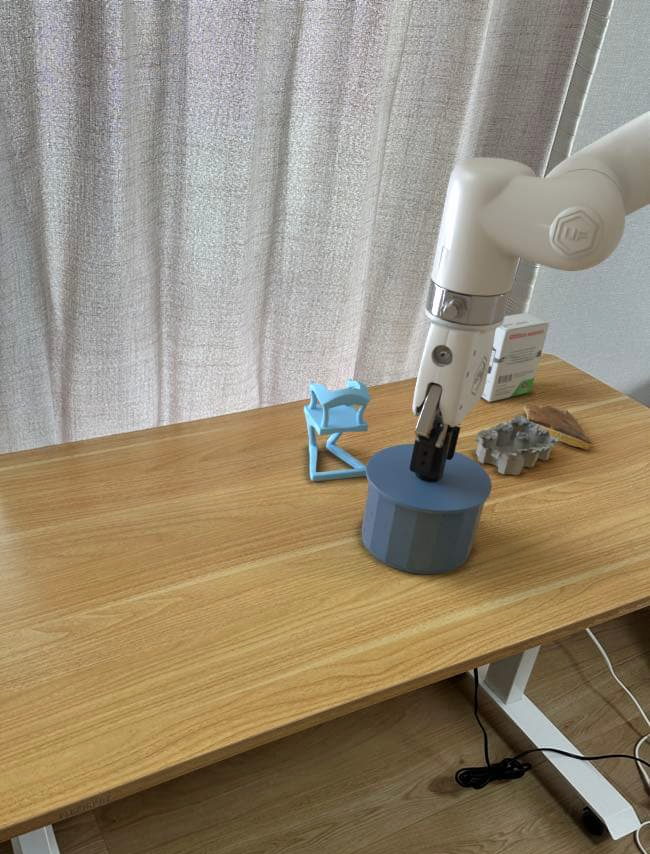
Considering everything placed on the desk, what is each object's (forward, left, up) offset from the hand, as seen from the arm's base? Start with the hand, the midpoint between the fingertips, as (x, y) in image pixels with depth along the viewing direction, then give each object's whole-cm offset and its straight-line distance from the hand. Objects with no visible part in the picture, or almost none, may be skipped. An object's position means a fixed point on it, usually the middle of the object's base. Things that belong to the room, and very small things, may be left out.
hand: (431, 463), depth 88 cm
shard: (-8, -38, -11) cm, 40 cm away
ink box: (+3, -45, -11) cm, 46 cm away
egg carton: (-4, -26, -11) cm, 28 cm away
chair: (+16, -10, -11) cm, 22 cm away
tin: (0, 0, -11) cm, 11 cm away
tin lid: (0, 0, -2) cm, 2 cm away
